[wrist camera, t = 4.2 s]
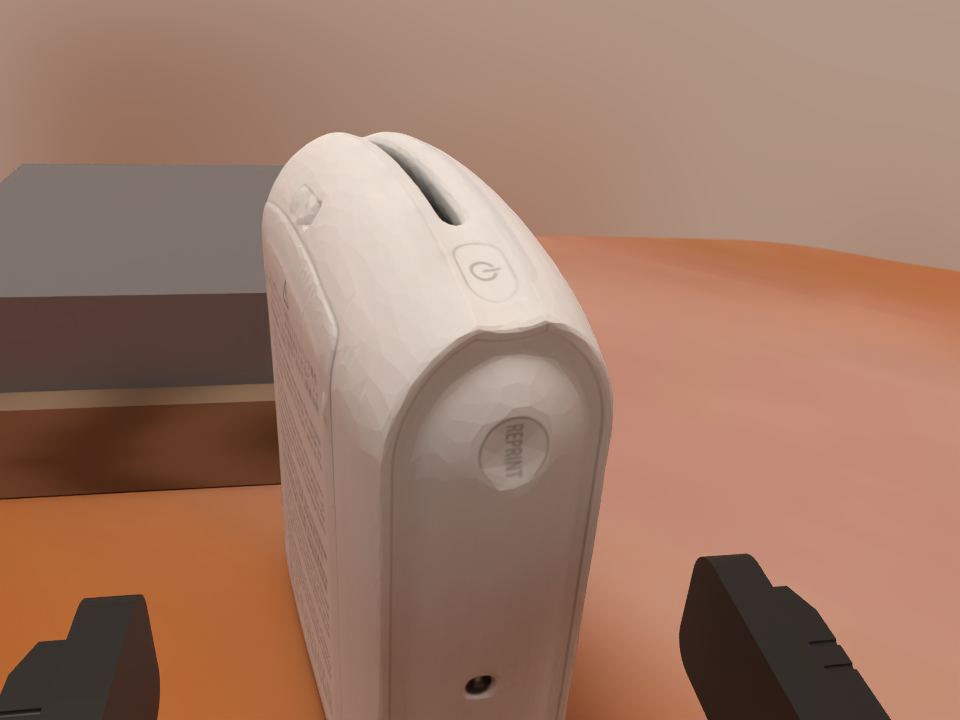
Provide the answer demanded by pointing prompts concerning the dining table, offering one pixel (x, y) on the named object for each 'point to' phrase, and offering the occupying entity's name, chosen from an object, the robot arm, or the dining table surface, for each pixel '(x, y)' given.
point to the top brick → (133, 277)
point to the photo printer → (429, 435)
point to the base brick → (137, 439)
